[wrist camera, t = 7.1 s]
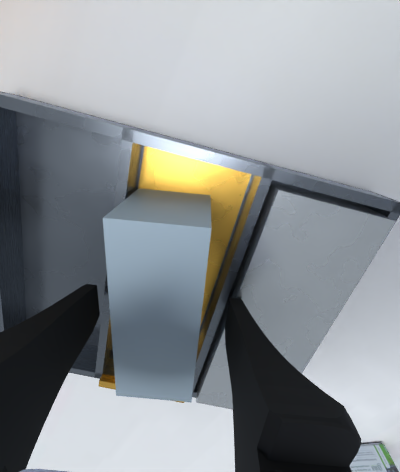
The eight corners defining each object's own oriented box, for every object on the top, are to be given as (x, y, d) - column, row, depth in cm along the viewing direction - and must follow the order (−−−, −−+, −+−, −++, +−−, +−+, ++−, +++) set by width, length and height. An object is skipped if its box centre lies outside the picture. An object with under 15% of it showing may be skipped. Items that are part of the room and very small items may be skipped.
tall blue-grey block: (210, 195, 13) (211, 228, 9) (195, 331, 17) (191, 402, 13) (138, 188, 13) (102, 217, 9) (140, 325, 17) (116, 395, 13)
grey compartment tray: (372, 192, 14) (420, 209, 11) (268, 380, 20) (279, 426, 17) (13, 94, 12) (-52, 81, 9) (25, 330, 19) (-11, 369, 16)
